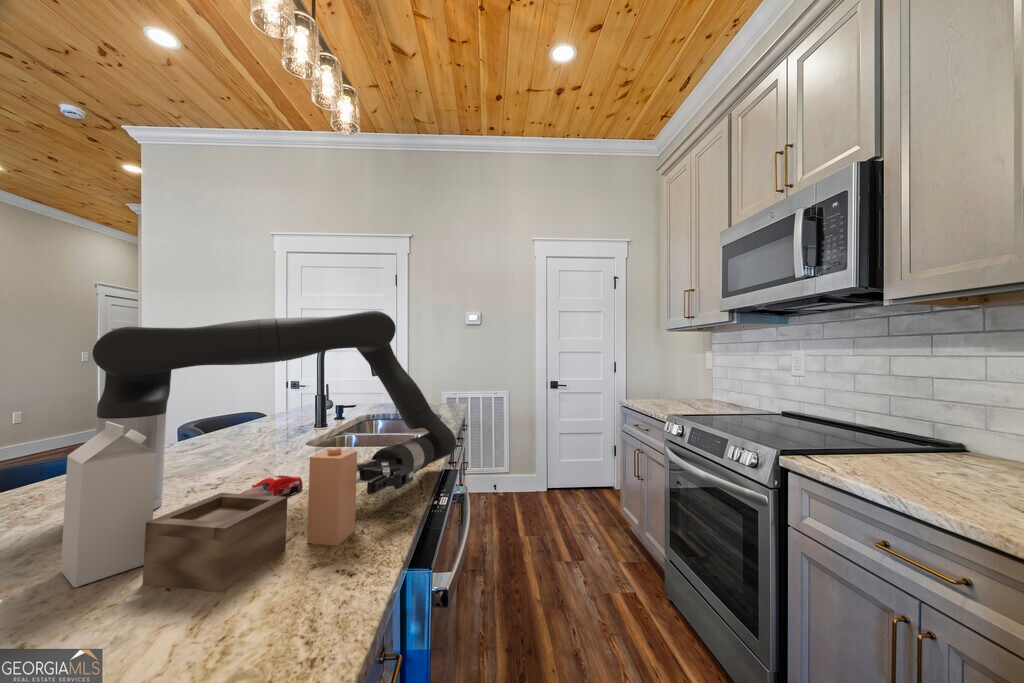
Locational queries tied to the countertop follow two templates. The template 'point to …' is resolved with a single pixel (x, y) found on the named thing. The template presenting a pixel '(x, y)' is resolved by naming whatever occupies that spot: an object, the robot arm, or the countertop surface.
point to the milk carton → (107, 505)
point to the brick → (332, 496)
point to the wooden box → (214, 541)
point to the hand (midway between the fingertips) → (346, 485)
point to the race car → (276, 486)
